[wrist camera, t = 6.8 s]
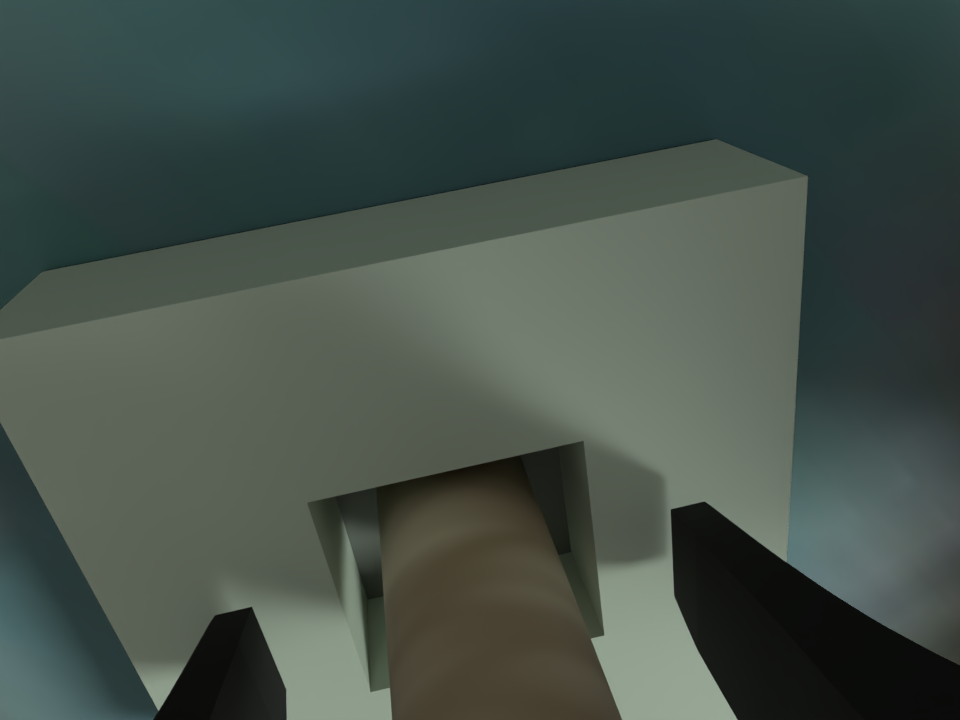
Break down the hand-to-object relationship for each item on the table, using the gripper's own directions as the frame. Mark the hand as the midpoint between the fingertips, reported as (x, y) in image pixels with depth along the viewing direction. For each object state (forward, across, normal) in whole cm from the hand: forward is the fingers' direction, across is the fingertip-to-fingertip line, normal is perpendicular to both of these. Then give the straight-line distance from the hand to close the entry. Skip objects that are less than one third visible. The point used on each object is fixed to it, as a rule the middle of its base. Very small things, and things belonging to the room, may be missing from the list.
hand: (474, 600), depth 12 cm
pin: (+3, 0, 0) cm, 3 cm away
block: (+4, 0, 0) cm, 4 cm away
